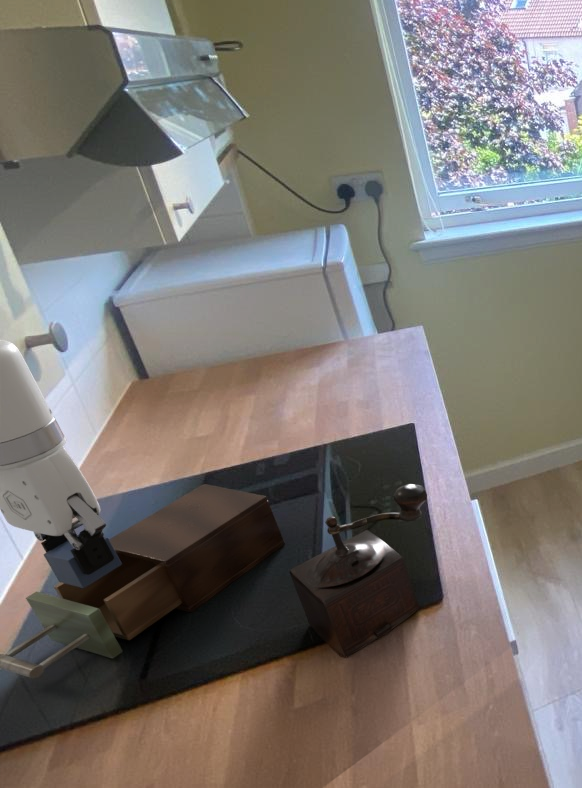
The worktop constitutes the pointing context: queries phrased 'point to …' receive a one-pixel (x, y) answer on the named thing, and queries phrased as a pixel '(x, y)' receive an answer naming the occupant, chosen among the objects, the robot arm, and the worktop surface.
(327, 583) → the manual coffee grinder
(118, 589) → the drawer
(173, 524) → the cabinet
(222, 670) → the worktop surface
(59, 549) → the block
